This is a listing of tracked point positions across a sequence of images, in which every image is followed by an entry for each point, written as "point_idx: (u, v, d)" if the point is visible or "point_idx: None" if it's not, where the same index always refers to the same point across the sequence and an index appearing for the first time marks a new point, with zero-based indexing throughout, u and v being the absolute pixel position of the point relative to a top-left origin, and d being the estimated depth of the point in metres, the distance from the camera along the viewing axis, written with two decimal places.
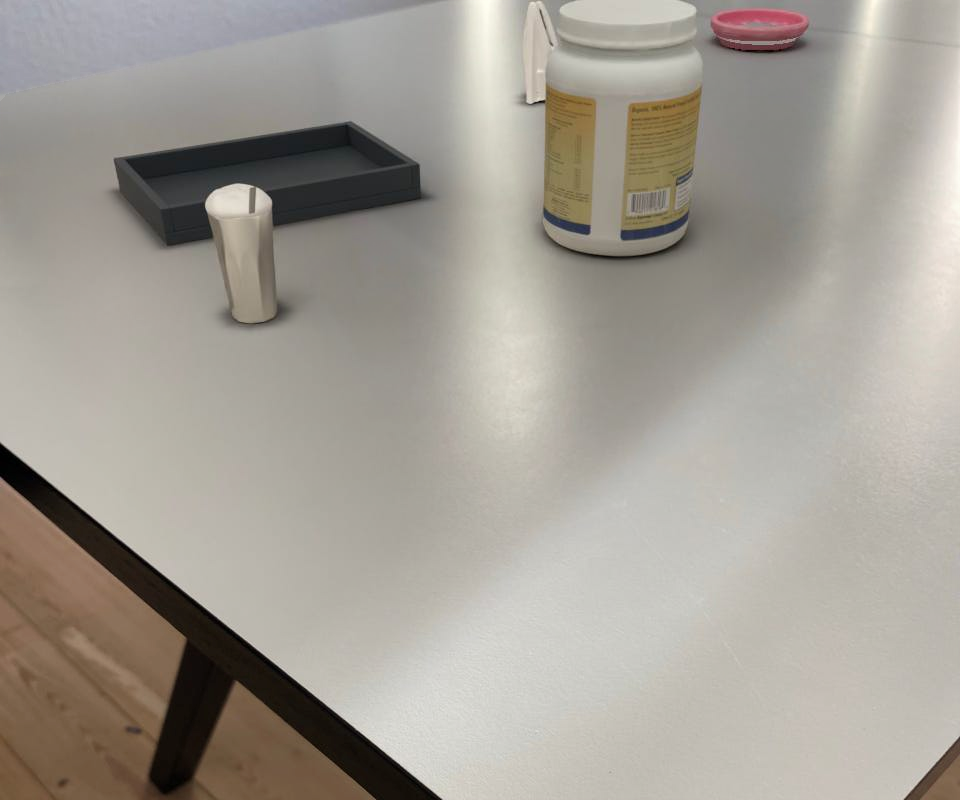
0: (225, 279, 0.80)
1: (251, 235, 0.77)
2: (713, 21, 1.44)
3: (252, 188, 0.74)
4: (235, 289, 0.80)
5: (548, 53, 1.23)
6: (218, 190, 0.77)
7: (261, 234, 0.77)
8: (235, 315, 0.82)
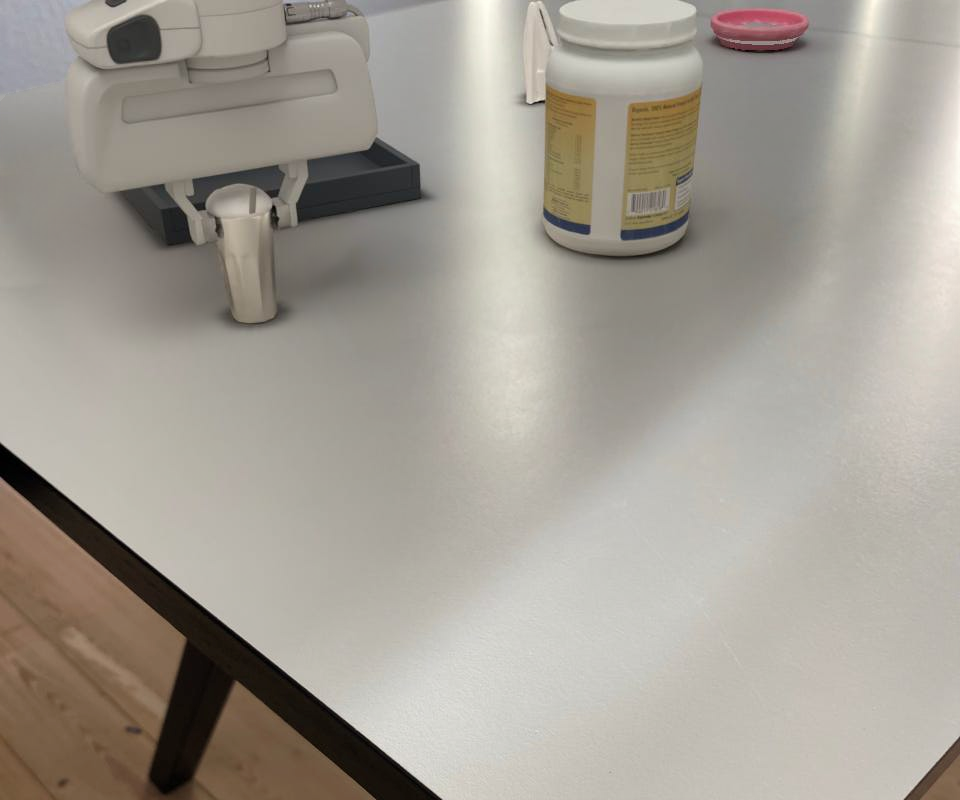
0: (225, 279, 0.80)
1: (251, 235, 0.77)
2: (713, 21, 1.44)
3: (252, 188, 0.74)
4: (235, 289, 0.80)
5: (548, 53, 1.23)
6: (218, 190, 0.77)
7: (261, 234, 0.77)
8: (234, 315, 0.82)
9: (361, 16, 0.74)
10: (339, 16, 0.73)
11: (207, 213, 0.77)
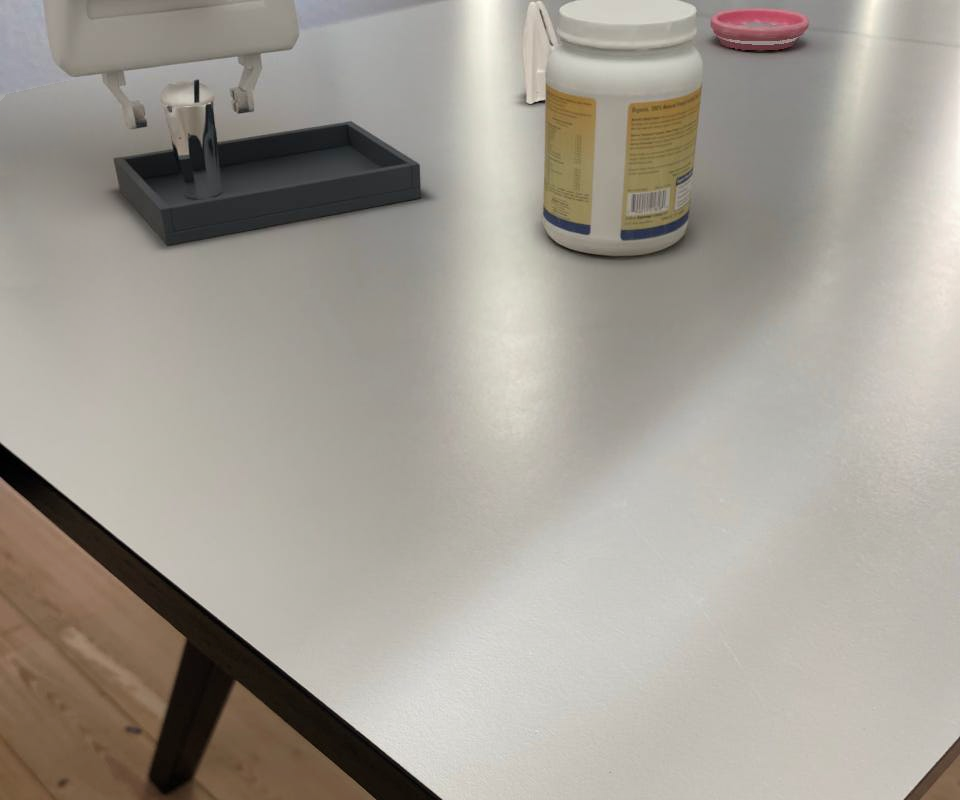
0: (177, 161, 0.98)
1: (197, 121, 0.95)
2: (713, 21, 1.44)
3: (196, 80, 0.92)
4: (185, 169, 0.98)
5: (548, 53, 1.23)
6: (170, 84, 0.95)
7: (205, 121, 0.95)
8: (186, 193, 0.99)
9: None
10: None
11: (138, 103, 0.94)
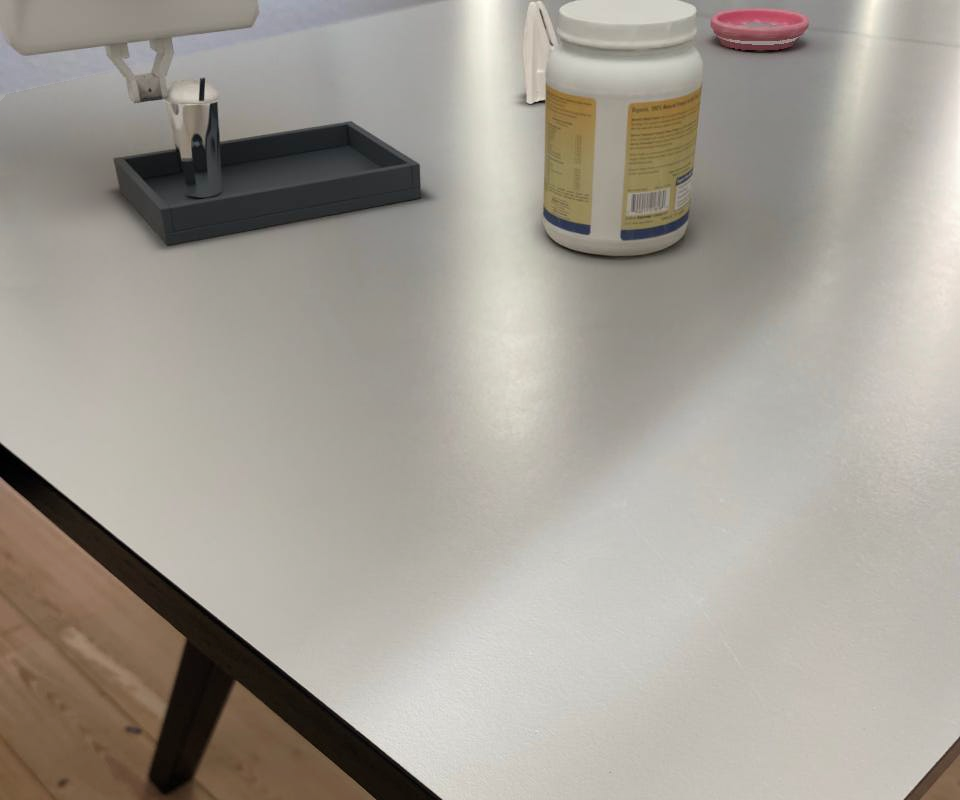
0: (179, 159, 0.98)
1: (200, 120, 0.95)
2: (713, 21, 1.44)
3: (202, 78, 0.92)
4: (186, 167, 0.98)
5: (548, 53, 1.23)
6: (175, 82, 0.95)
7: (209, 120, 0.95)
8: (186, 191, 0.99)
9: None
10: None
11: (142, 76, 0.92)
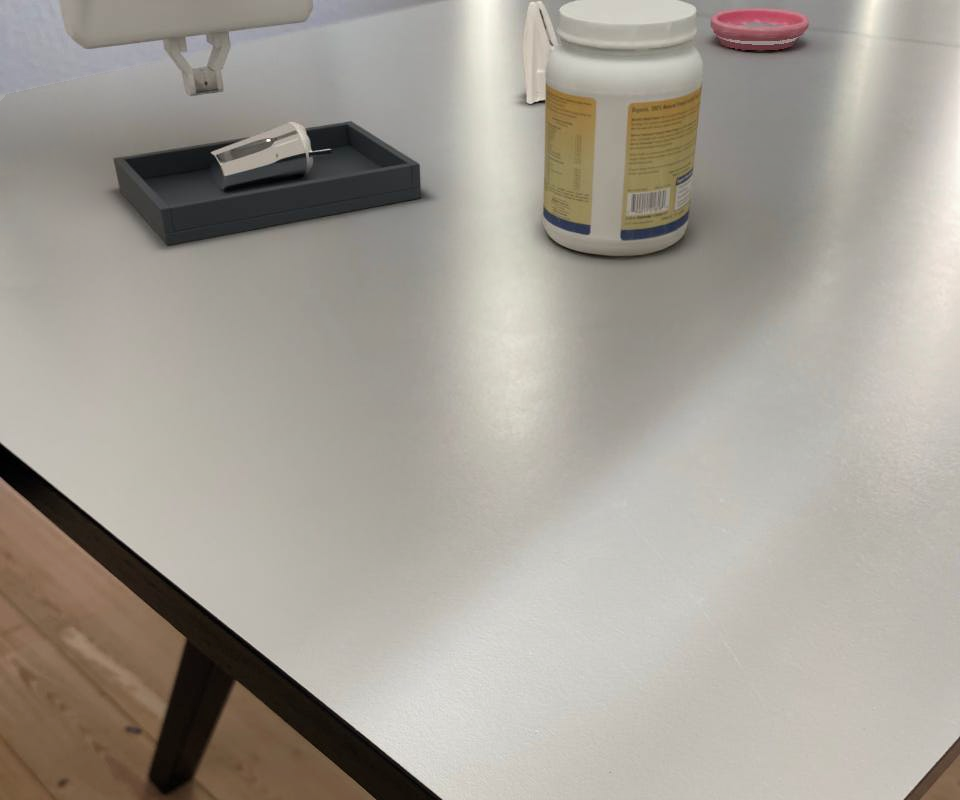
0: (242, 142, 1.00)
1: (292, 156, 1.01)
2: (713, 21, 1.44)
3: (330, 151, 1.01)
4: (243, 149, 0.99)
5: (548, 53, 1.23)
6: None
7: (292, 165, 1.01)
8: (217, 152, 0.99)
9: None
10: None
11: (198, 69, 0.94)
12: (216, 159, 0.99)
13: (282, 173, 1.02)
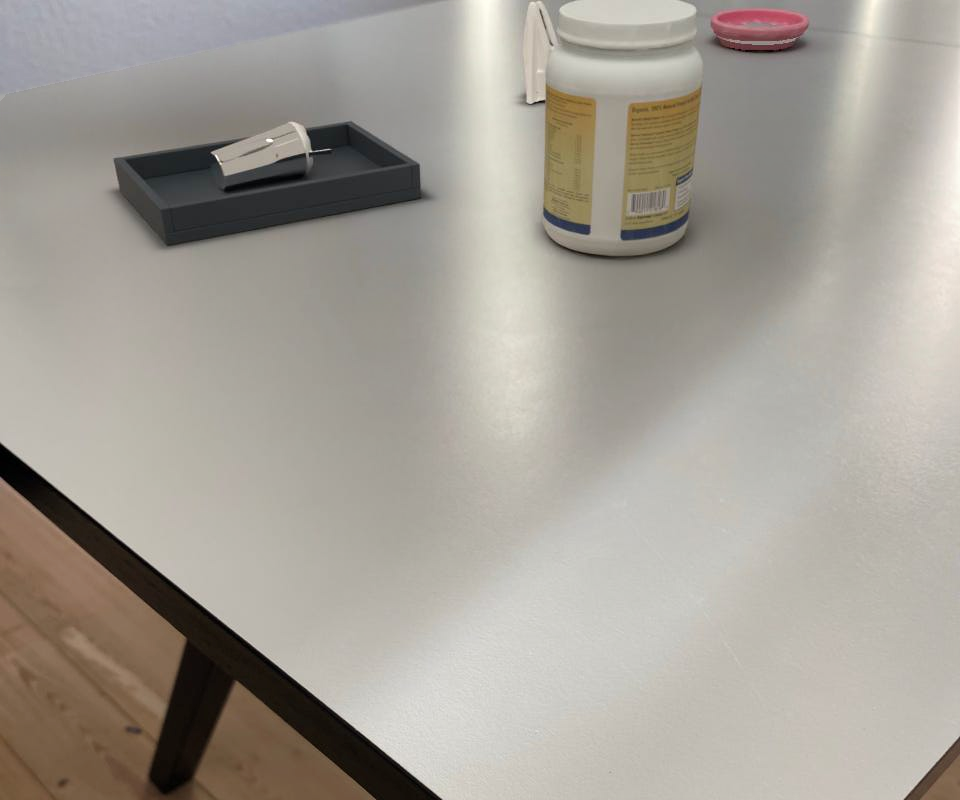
0: (242, 142, 1.00)
1: (292, 156, 1.01)
2: (713, 21, 1.44)
3: (330, 151, 1.01)
4: (243, 149, 0.99)
5: (548, 53, 1.23)
6: None
7: (292, 165, 1.01)
8: (217, 152, 0.99)
9: None
10: None
11: None
12: (216, 159, 0.99)
13: (282, 173, 1.02)
